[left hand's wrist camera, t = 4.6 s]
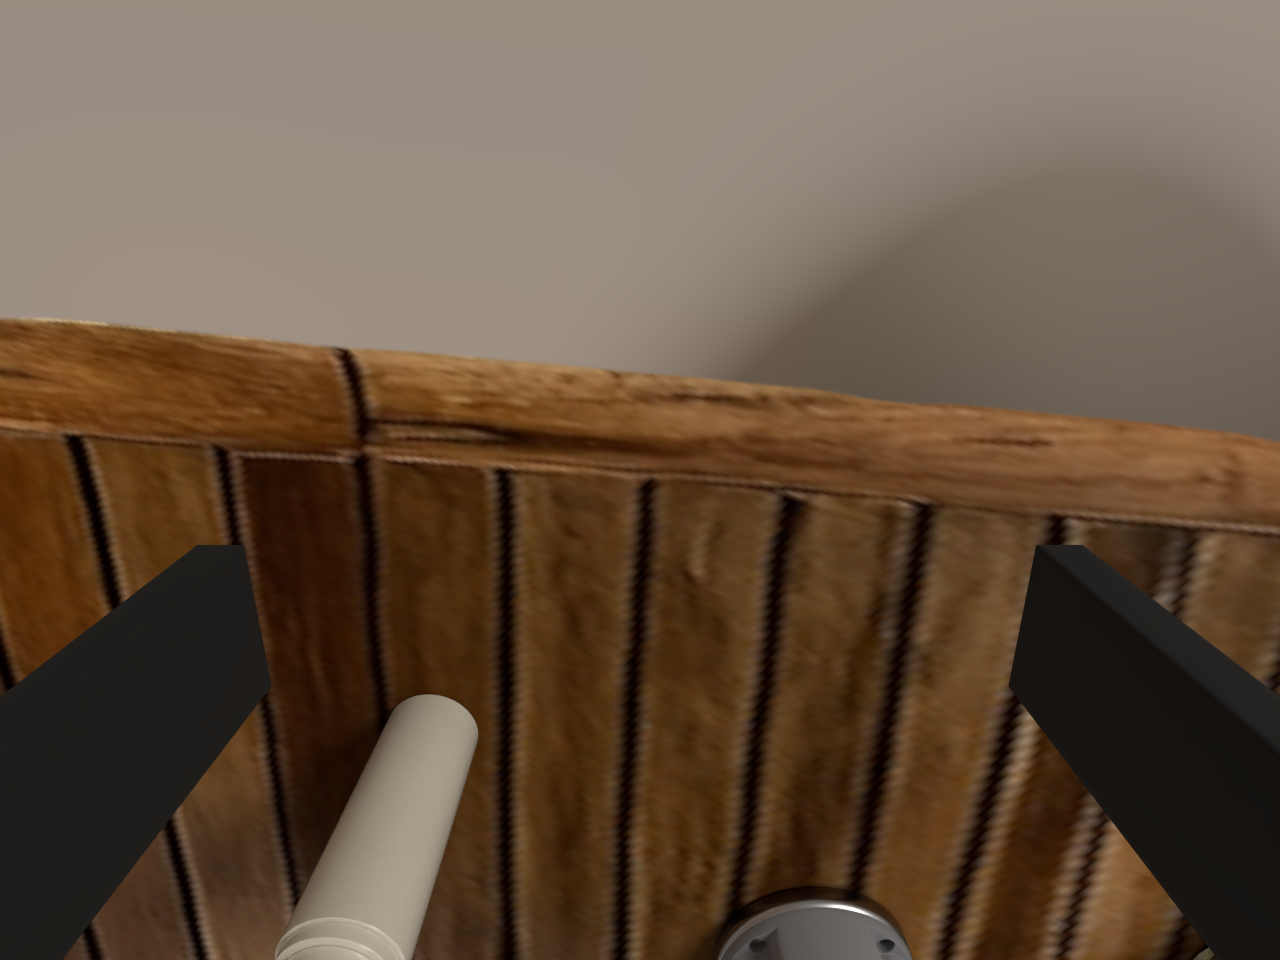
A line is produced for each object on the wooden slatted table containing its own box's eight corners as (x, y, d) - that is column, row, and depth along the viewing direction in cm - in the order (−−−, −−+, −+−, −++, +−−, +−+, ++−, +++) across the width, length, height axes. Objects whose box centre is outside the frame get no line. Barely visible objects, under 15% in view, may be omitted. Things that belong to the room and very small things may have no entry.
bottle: (471, 691, 51) (341, 1063, 29) (484, 766, 53) (374, 1166, 31) (379, 696, 51) (180, 1071, 29) (396, 771, 53) (223, 1173, 31)
